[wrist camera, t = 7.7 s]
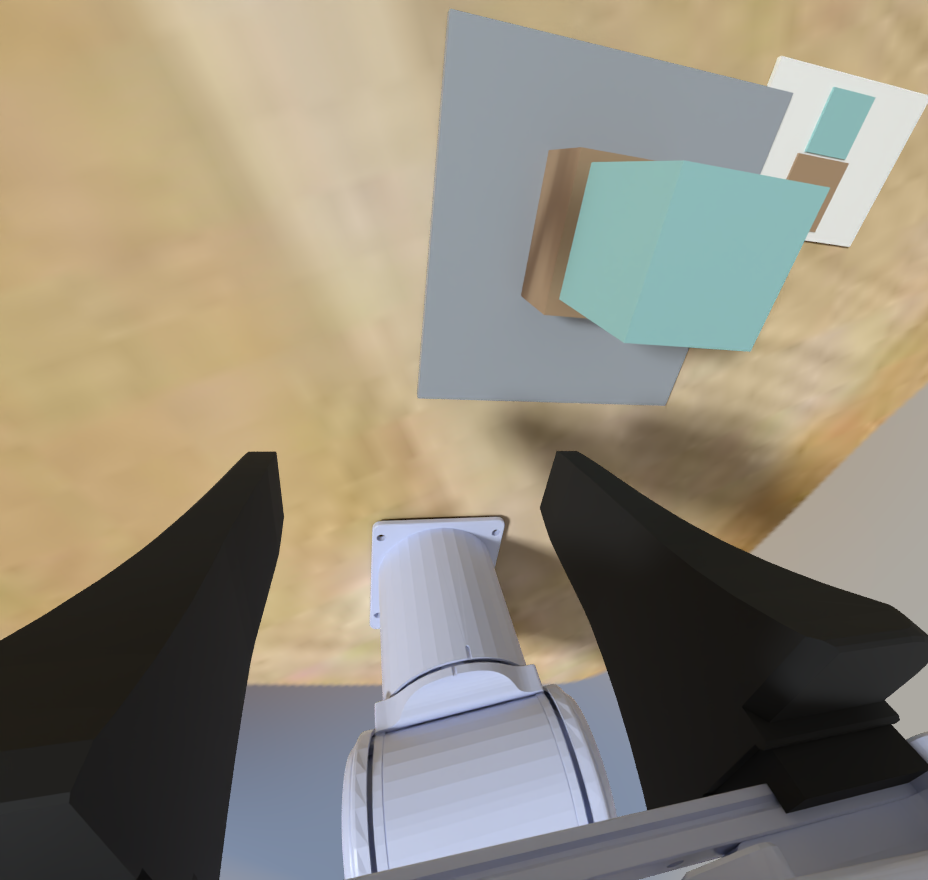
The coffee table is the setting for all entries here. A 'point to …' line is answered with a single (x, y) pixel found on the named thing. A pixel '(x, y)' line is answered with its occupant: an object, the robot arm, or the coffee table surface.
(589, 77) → the build plate
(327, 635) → the coffee table surface
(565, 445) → the coffee table surface
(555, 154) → the walnut brick
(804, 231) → the teal brick
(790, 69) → the tile
